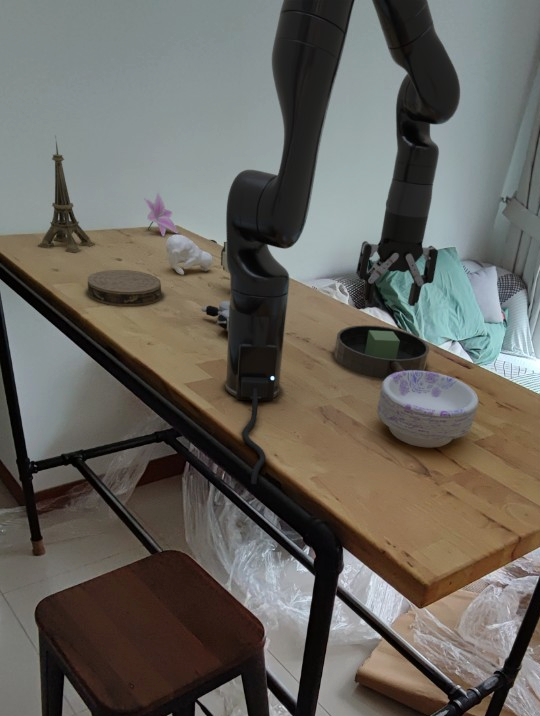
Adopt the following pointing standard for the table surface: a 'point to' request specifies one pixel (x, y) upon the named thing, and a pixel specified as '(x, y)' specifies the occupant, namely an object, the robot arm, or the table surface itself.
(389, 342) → the cube
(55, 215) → the eiffel tower
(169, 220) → the lily
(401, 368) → the pan handle
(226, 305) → the robot toy
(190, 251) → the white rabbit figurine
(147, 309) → the table surface
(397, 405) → the paper bowls
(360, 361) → the pan
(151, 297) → the wood log slice
